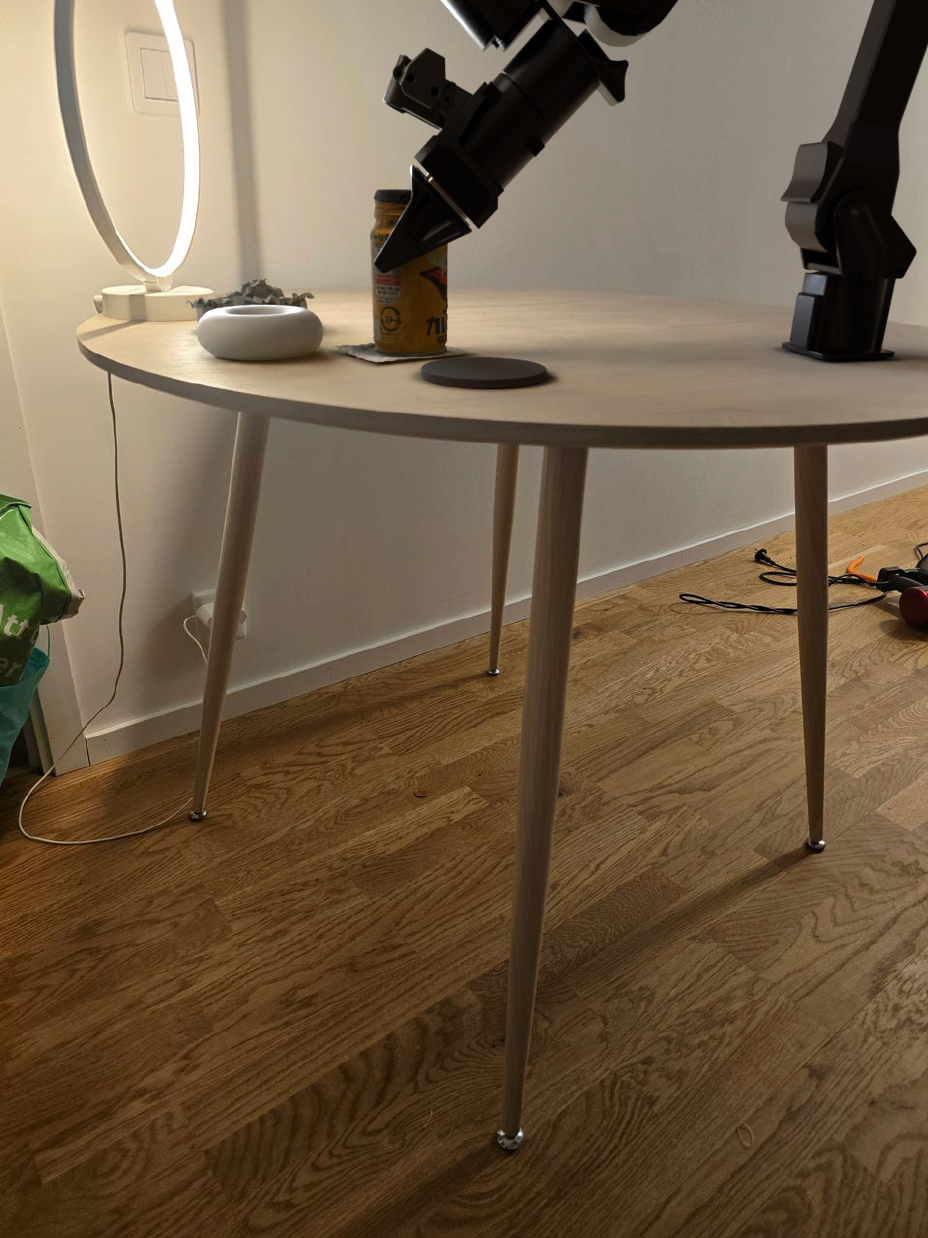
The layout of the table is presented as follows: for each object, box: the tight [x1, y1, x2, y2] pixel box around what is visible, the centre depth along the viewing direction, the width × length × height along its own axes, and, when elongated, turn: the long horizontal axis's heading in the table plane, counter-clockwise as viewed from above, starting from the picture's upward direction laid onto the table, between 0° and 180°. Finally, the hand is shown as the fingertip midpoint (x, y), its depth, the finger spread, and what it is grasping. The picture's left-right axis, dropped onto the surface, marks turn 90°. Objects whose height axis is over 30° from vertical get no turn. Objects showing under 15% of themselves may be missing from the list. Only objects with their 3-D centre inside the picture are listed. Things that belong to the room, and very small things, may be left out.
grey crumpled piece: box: [185, 277, 315, 324], centre depth 83 cm, size 11×8×4 cm
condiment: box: [334, 188, 468, 363], centre depth 69 cm, size 7×8×12 cm
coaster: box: [420, 356, 547, 389], centre depth 63 cm, size 9×9×1 cm
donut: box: [195, 305, 324, 361], centre depth 71 cm, size 10×4×10 cm
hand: (381, 265), depth 69 cm, fingers closed on condiment, 6 cm apart
